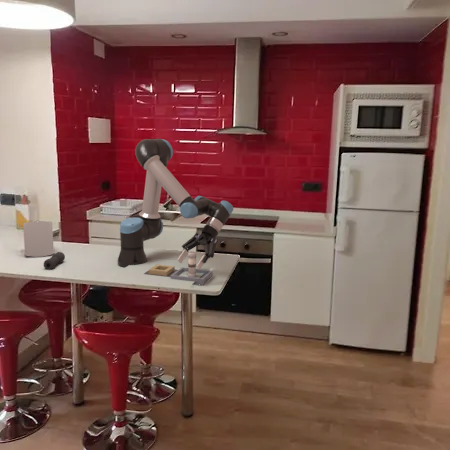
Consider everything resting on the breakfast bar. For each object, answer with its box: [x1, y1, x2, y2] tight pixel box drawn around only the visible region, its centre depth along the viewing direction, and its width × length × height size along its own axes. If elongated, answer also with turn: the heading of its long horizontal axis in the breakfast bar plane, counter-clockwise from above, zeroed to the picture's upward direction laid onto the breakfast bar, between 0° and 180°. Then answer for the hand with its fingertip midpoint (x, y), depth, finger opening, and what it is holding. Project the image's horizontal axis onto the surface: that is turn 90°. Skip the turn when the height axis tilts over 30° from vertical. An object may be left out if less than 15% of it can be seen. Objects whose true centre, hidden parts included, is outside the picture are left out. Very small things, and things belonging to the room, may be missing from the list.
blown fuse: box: [187, 251, 197, 278], centre depth 221 cm, size 4×4×12 cm
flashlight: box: [43, 251, 66, 271], centre depth 238 cm, size 15×5×5 cm, turn 178°
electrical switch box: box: [22, 220, 55, 258], centre depth 259 cm, size 14×15×20 cm
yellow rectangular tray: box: [143, 264, 178, 278], centre depth 227 cm, size 14×12×4 cm
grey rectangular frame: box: [170, 267, 214, 286], centre depth 222 cm, size 16×14×3 cm
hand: (188, 264), depth 219 cm, fingers open, 13 cm apart
